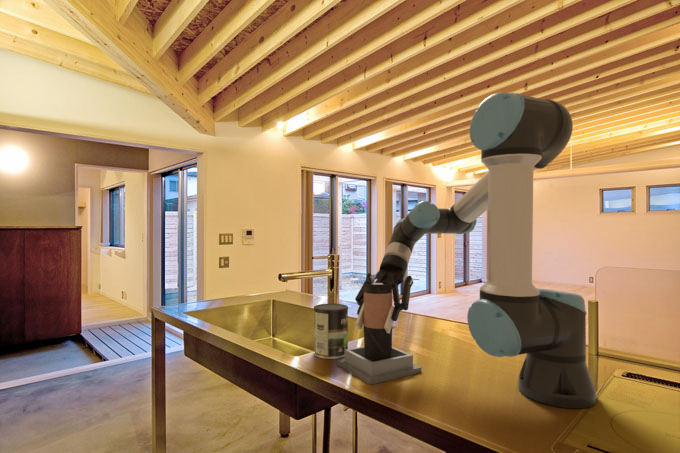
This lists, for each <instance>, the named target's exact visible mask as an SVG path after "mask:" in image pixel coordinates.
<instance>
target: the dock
mask: <svg viewBox="0 0 680 453" xmlns="http://www.w3.org/2000/svg"><path fill="white" fill-rule="evenodd" d="M336 365H337V366H339V367H340V368H342V369H344V370H345V371H347V372H349V373H350V374H352V375H354V376H356V377H357V378H358V379H360V380H362V381H363V382H365V383H366V384H368V385H374V384H378V383H383V382H387V381H391V380H396V379H399V378H402V377H403V378H404V377H407V376H412V375H416V374H419V373H422V367H421V366H419V365H416V364H414V355H413V354H411V353H408V352H406V351H404V350H401V349H399V348H397V347H394V346H392V356H391V358H389V359H385V360H380V361H375V362H373V361H370V360H368V359H366V358H365V352H364V345H363V346H357V347H352V348H348V349H345V357H344V358H339V359H336Z"/></svg>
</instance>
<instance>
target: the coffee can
mask: <svg viewBox="0 0 680 453" xmlns="http://www.w3.org/2000/svg"><path fill="white" fill-rule="evenodd" d="M348 312H349V306H348V305H347V304H344V303H342V304H341V303H320V304H317V305H313V313H314V314H313V323H314V324H313V330H314V331H313V333H314V337H313V338H314V339H313V340H314V341H313V342H314V346H313V347H314V348H313V349H314V350H313V354H314V356H315V357H317V358H319V359H324V360H340V359H344V358H345V349H349V342H348V341H349V340H348V339H349V335H348V334H349V324H348V323H349V322H348V321H349V316H348V314H349V313H348ZM314 352H315V353H314Z"/></svg>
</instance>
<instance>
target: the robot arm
mask: <svg viewBox="0 0 680 453" xmlns="http://www.w3.org/2000/svg"><path fill="white" fill-rule="evenodd" d="M469 125H470V126H469V138H470V142H471V143H473V146H474V147H475V148H477V149H478V150H480V151H481V153H480V160H481V161H480V162H481V163H482V164H483V165H484V166H485V167H486V168H487V169H488V171H486V173H484V175H483V176H481V177H480V178H479V179H478V180H477V181H476V182H475V183H474V184H473V186H472V187H470V188H469V189H468V190H467V191H466V192H465V193H464V194H463V195H462V196H461V197H460V198H459V199H458V200H457V201H456V202H455V203H454V204H453V205H452V206H451V207H449V208H439V207H437V205H436V204H434V203H433V202H429V201H428V200H422V201H420V202H418V203H417V204H416V205H415V206H413V207H412V208H411V210H410V211H409V213H407V215H406V216H405V217H404V218H401V219H399V220H398V221H396V223H395V226H394V227H393V229H392V234H391V237H390V239H389V241H388V245H387V247H386V250H385V251H384V255H383V258H382V260H381V263H380V265H379V270H378V271H377V273H376V274H372V273H370V272H368V273H367V274H366V277H365V278H366V279H365V281H364V282H367V281H370V282H371V283H377V282H378V281H388V282H391V283H392V300H393V305H394V306H393V305H392V306H391V308H390V310H389V314H388V317H387V320H386V323H385V326H384V328H385V330H386V332H387V333H389V334H390V331H391V328H392V329H393V325H394V322H397V321H398V318H399V315H400V313H401V311H403V310H404V311H408V309H409V305H410V296H411V288H412V286H413V285H414V280H413V278H412V275H407V276H405V275H406V273H407V272H406V271H407V269H408V266H409V262H410V259H411V256H412V254H413V250H414V246H415V245H416V243H418V241H420V239H422V238H423V236H425V235H428V234H430V235H431V234H433V235H434V234H444V235H445V234H452V235H453V234H456V235H462V234H469V233H471V232H473V231H474V229H475V226H477V219H478V218H479V217H481V216H482V215H483V214H484V213H485V212H486V211H488V212H487V273H486V274H487V276H486V277H487V278H486V279H487V280H486V281H485V282H484V283H483V284H482V285H481V286H479V299H478V300H475V301H474V302H472V303H471V305H470V307H469V308H468V311H467V318H466V319H467V325H468V329H469V333H470V335H471V337H472V339H473V340H474V341H475V343H476V345H477V346H478V347H479V348H480V349H481V350H482V351H483V352H484V353H486V354H488V355H489V356H493V357H497V358H503V357H508V358H510V357H511V358H513V357H516V356H521V355H525V358H524V361H523V364H522V365H521V369H520V372H519V375H518V377H517V388H518V390H519V392H520V393H521V394H522V395H524V396H525V397H527V398H530V399H531V400H533V401H535V402H539V403H542V404H545V405H549V406H552V407H558V408H565V409H585V408H590V407H593V406H595V405H596V403H597V391H596V388H595V385H594V381H593V379H592V376H591V373H590V371H589V369H588V365H587V359H586V358H587V357H586V356H587V354H586V353H587V350H586V349H587V346H586V345H587V336H586V335H587V334H586V333H587V332H586V330H587V329H586V325H587V323H586V322H587V320H586V315H587V311H586V303H585V298H584V297H583V296H582V295H580V294H577V293H572V292H567V291H559V290H554V289H546V288H537V287H536V286H534V284H533V239H534V238H533V230H534V229H533V227H534V225H533V224H534V222H533V220H534V171H535V170H542V169H544V168H546V167H547V166H548V165H549V164H550V163H552V162H553V161H554V160H555V159H557V157H558V156H559V155H560V154H561V153H562V152H563V151H564V150H565V149H566V147H567V145H568V143H570V142H569V141H570V139H571V137H572V134H573V118H572V115H571V113H570V111H569V110H568V109H567V108H566V106H564V105H563V104H561V103H560V102H558V101H556V100H552V99H547V98H545V99H544V98H540V97H535V96H534V97H533V96H530V95H523V94H521V93H518V92H505V91H504V92H495V93H492V94H491V95H489V96H488V97H486V98H484V100H483V101H482V102H481V103H480V104H479V106H478V107H477V109H476V110H475V111H474V113H473V116H472V119H471V121H470V124H469ZM375 280H376V281H375ZM402 283H403V288H402V295H401V296H402V298H401V301H400V295H399V285H401V284H402ZM354 300H355V302H356V303H357V305H358V308H357V311H356V314H357V318H356V320H355V326H356V327H357V328H358V329H359V330H362V329H363V327H364V283H363V285H362V286H361V288H360V289H359V291H358V293H357V295H356V296H355V299H354Z"/></svg>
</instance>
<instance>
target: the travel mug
mask: <svg viewBox="0 0 680 453" xmlns="http://www.w3.org/2000/svg"><path fill="white" fill-rule="evenodd" d="M363 284H364V323H363V346H364V352H365V358H366V359H368V360H370V361H373V362H375V361H380V360H385V359H389V358H391V356H392V347H393V327H392V328H391V331H390V334H389V333H387V332H386V330H385V328H384V326H385V323H386V320H387V317H388V314H389V310H390V308H391V306H393V292H392V283H391V282H388V281H378V282H377V283H375V282H374V283H371V282H370V281H367V282H365V281H364V282H363Z"/></svg>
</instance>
